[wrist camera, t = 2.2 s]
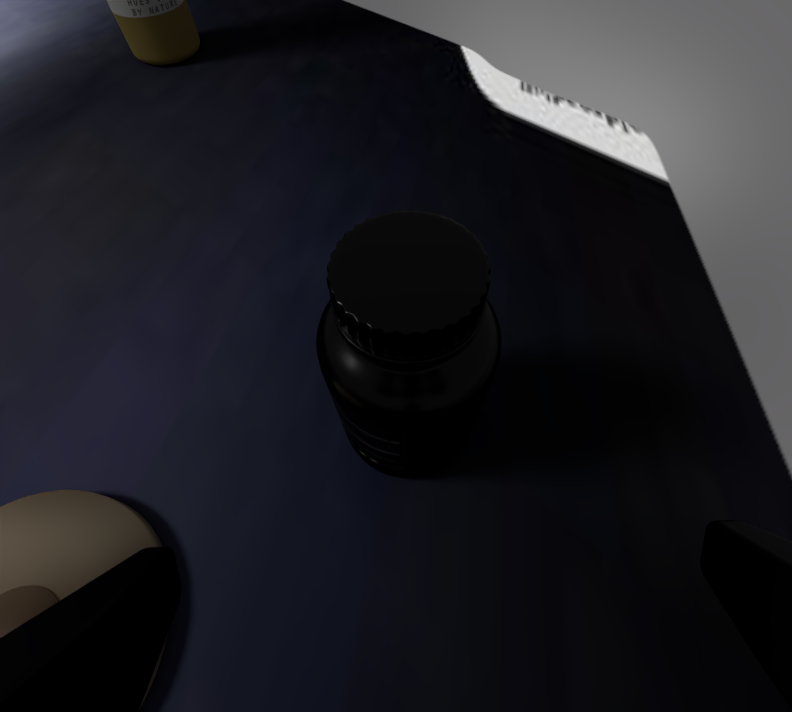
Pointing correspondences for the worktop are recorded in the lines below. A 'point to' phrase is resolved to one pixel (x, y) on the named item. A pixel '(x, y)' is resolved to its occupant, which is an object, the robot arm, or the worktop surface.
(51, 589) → the cork trivet
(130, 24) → the pale patterned cylinder
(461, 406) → the supplement bottle
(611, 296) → the worktop surface
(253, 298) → the worktop surface
